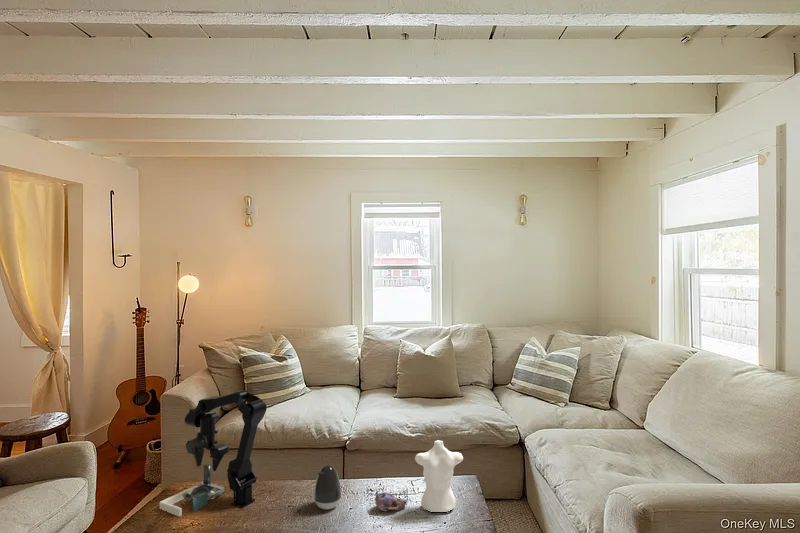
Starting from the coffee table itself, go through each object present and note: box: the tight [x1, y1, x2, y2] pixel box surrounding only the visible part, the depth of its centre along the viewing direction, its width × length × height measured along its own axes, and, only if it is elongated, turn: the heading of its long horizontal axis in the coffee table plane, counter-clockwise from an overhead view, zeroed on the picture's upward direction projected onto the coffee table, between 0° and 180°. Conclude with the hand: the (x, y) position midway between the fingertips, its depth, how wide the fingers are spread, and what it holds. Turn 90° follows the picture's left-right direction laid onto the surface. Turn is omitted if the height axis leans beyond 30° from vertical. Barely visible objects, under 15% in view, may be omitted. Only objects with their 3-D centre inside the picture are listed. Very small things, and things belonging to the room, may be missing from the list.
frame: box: [159, 484, 215, 517], centre depth 165 cm, size 11×15×2 cm
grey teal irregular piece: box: [192, 463, 224, 511], centre depth 169 cm, size 13×14×10 cm
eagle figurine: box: [182, 485, 212, 509], centre depth 166 cm, size 8×7×9 cm
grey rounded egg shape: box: [313, 464, 342, 511], centre depth 164 cm, size 10×10×15 cm
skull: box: [374, 491, 407, 512], centre depth 162 cm, size 12×8×6 cm, turn 96°
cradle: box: [212, 484, 226, 499], centre depth 172 cm, size 2×5×3 cm, turn 152°
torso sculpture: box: [414, 439, 464, 512], centre depth 164 cm, size 18×10×25 cm, turn 95°
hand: (206, 468), depth 176 cm, fingers open, 9 cm apart
